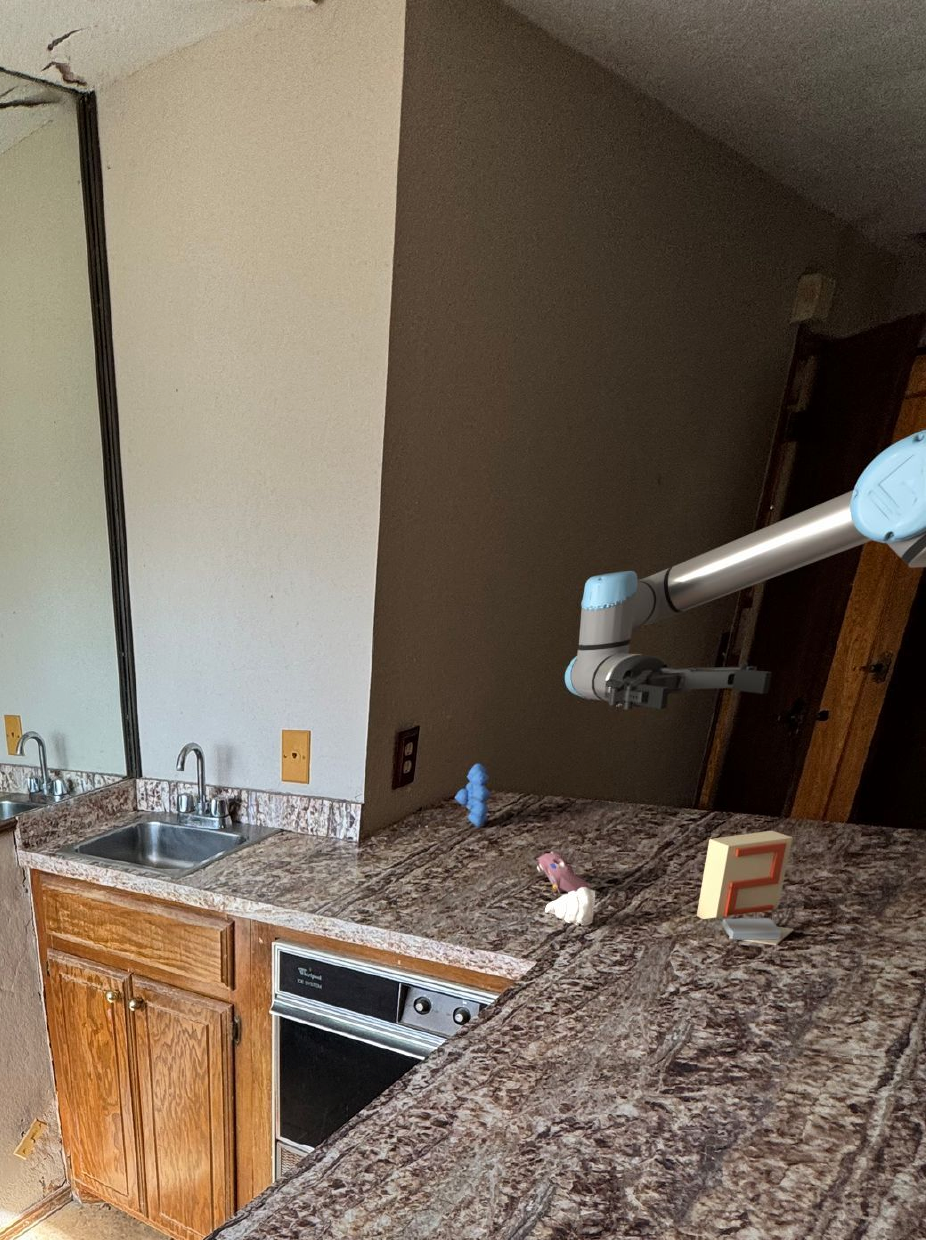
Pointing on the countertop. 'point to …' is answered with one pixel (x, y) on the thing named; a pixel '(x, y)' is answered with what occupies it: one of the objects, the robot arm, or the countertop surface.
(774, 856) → the cream digit block
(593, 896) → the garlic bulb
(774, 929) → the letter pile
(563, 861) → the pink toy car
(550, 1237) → the countertop surface
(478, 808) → the grapes
